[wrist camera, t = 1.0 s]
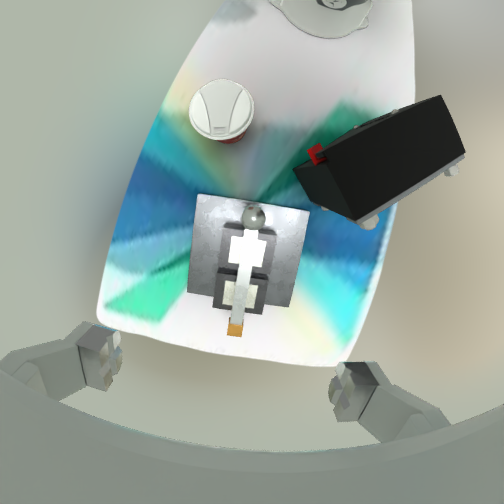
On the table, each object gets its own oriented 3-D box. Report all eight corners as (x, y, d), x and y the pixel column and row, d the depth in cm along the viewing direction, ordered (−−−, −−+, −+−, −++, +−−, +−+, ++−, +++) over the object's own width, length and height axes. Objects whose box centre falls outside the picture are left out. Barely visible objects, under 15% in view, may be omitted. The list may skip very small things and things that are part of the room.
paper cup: (252, 150, 42) (254, 138, 28) (204, 150, 42) (185, 140, 28) (253, 104, 40) (255, 75, 26) (205, 105, 40) (188, 77, 26)
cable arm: (243, 203, 37) (243, 204, 35) (266, 207, 37) (267, 208, 35) (224, 327, 42) (223, 334, 40) (244, 330, 43) (244, 337, 41)
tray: (199, 193, 44) (191, 196, 37) (307, 210, 45) (317, 216, 38) (188, 288, 48) (180, 304, 42) (287, 303, 49) (292, 321, 43)
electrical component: (316, 212, 45) (363, 240, 25) (286, 159, 42) (315, 146, 23) (396, 167, 42) (471, 169, 23) (370, 116, 40) (438, 89, 21)
